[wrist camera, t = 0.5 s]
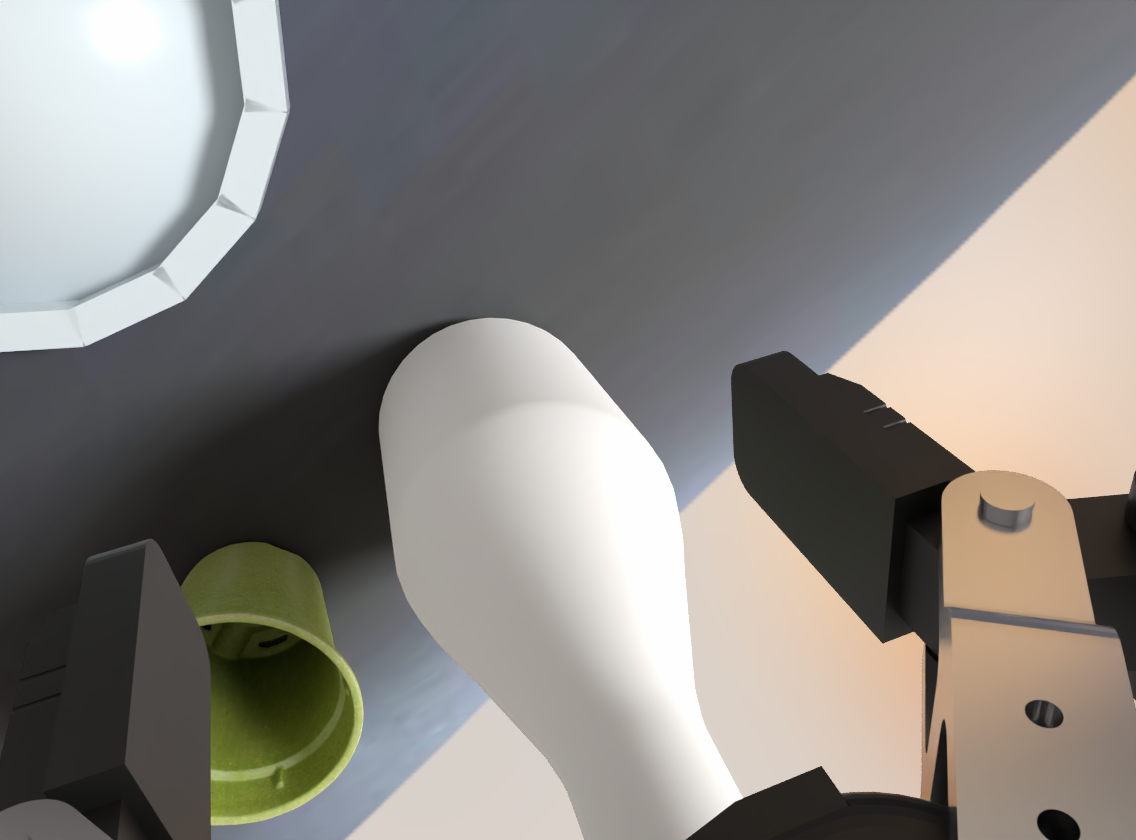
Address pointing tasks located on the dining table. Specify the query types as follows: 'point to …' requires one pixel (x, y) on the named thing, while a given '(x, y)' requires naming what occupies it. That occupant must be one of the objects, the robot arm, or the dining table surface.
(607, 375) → the dining table surface
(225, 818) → the plant pot
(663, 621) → the wine bottle
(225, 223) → the dish
